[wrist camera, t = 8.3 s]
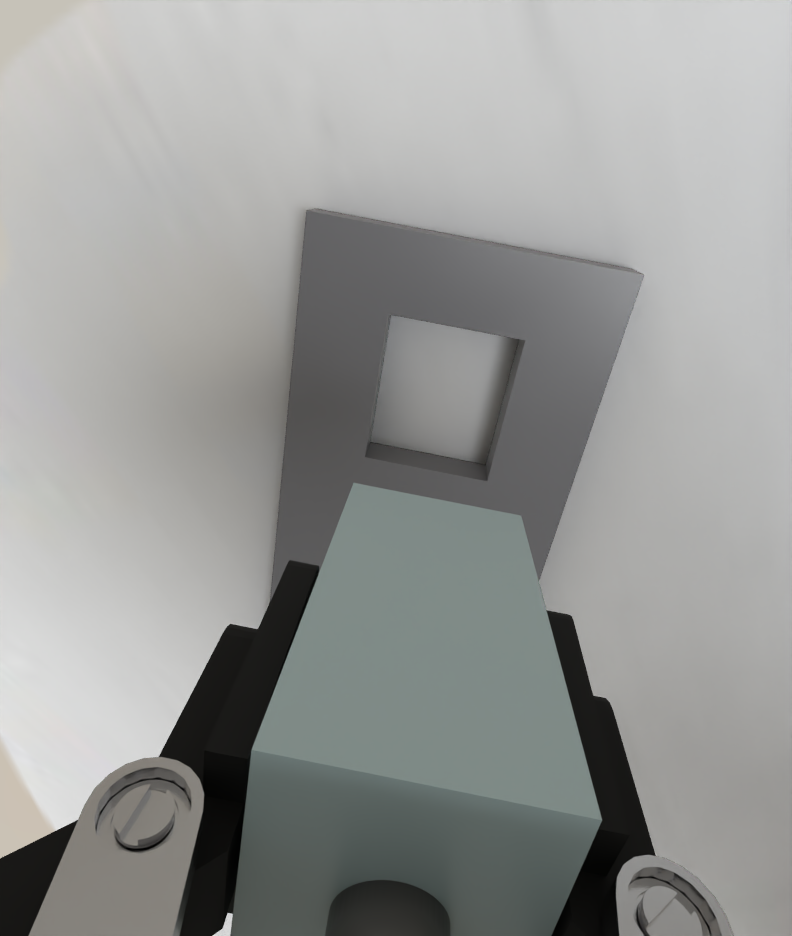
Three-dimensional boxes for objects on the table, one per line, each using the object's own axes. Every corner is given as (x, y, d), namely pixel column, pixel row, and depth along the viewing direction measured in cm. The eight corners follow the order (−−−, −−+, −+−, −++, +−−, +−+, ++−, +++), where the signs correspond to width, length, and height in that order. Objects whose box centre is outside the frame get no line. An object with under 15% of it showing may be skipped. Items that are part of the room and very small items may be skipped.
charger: (474, 678, 14) (504, 1171, 7) (326, 648, 14) (191, 1106, 7) (521, 515, 12) (630, 928, 5) (353, 482, 12) (215, 844, 5)
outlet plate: (482, 716, 33) (484, 751, 31) (270, 673, 33) (257, 705, 31) (632, 268, 22) (649, 277, 20) (316, 208, 22) (302, 211, 20)
